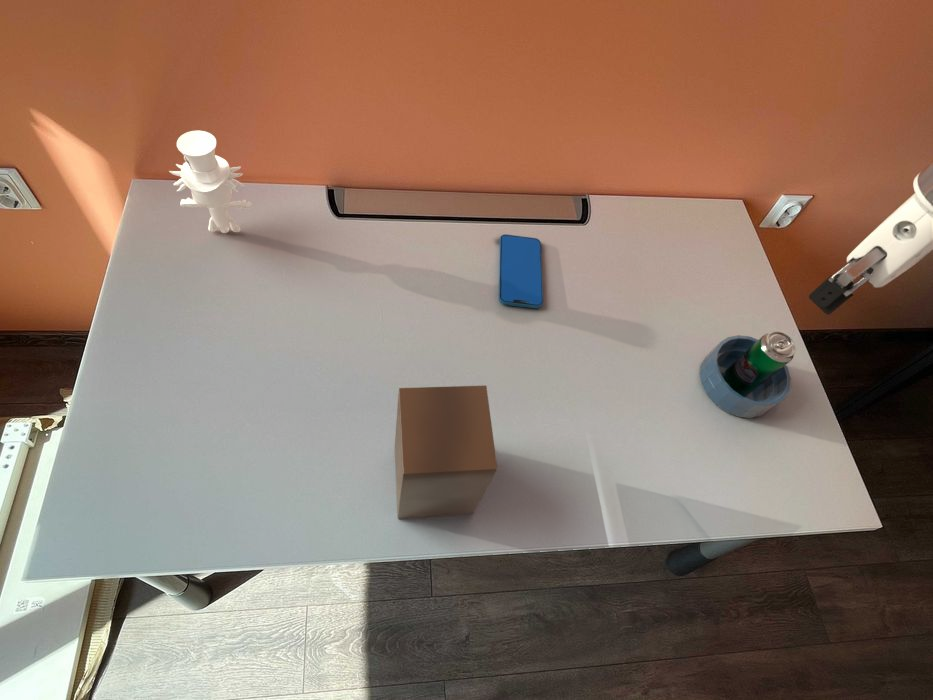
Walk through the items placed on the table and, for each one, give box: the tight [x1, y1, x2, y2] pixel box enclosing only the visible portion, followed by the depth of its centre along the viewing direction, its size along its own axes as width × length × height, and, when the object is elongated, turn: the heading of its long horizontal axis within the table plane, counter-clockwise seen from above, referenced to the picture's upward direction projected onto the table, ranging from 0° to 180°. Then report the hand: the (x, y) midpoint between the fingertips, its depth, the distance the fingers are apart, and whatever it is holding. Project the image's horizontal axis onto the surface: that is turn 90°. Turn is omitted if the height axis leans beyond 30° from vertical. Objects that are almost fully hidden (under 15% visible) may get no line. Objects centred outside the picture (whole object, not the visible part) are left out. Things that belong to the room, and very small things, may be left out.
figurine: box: [168, 129, 253, 234], centre depth 87 cm, size 10×8×18 cm
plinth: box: [394, 385, 498, 520], centre depth 71 cm, size 10×10×18 cm
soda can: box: [723, 331, 797, 395], centre depth 87 cm, size 5×5×12 cm
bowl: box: [699, 335, 792, 419], centre depth 91 cm, size 12×12×5 cm
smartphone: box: [498, 233, 544, 309], centre depth 98 cm, size 7×1×15 cm
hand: (842, 289), depth 72 cm, fingers open, 9 cm apart
